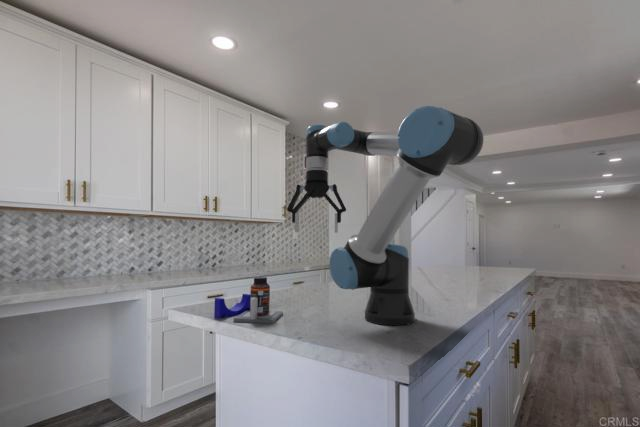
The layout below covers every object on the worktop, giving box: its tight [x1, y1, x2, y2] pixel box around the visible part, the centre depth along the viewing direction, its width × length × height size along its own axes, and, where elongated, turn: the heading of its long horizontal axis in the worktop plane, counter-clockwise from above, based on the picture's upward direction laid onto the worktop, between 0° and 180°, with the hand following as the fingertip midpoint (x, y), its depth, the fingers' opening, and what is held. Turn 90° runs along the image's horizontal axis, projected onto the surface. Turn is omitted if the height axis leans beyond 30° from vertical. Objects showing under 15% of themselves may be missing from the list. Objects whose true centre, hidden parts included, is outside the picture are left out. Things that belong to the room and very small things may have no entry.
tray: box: [233, 298, 284, 324], centre depth 107 cm, size 12×13×7 cm
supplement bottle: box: [249, 276, 271, 316], centre depth 107 cm, size 6×6×11 cm
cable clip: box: [213, 293, 250, 319], centre depth 112 cm, size 12×4×6 cm, turn 138°
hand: (316, 232), depth 117 cm, fingers open, 13 cm apart
